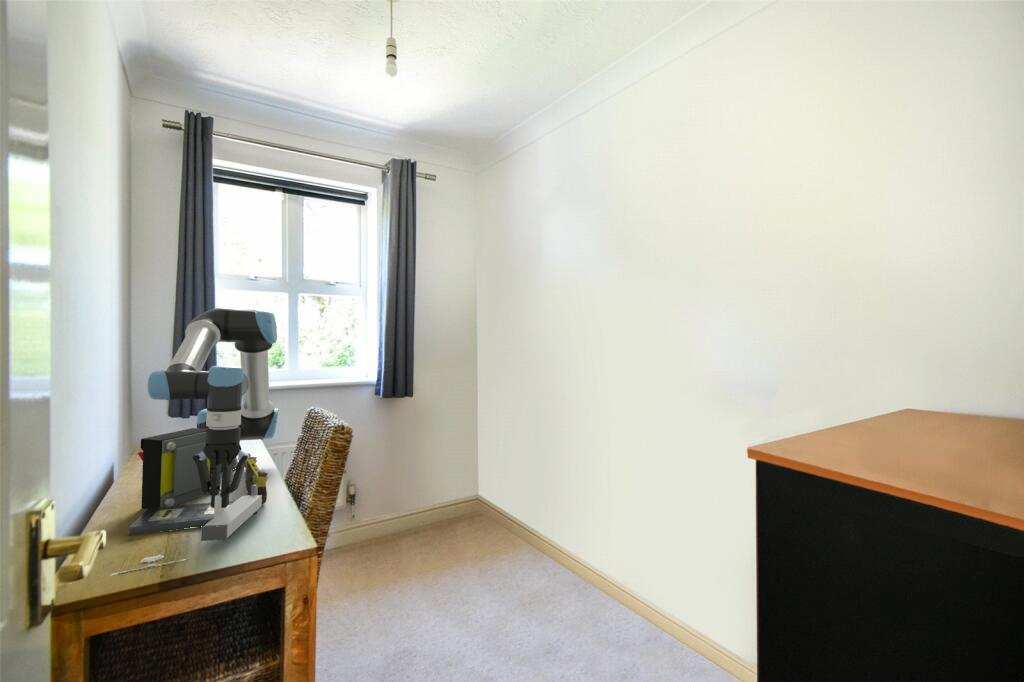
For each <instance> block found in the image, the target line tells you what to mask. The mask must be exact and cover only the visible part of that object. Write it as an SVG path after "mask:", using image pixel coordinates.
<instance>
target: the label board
mask: <svg viewBox="0 0 1024 682" xmlns="http://www.w3.org/2000/svg"><path fill="white" fill-rule="evenodd" d="M252 495H258V485H257V484H255V485H251V496H252ZM235 501H236V500H229V505H228V506H227V507H226V508H228V507H229V506H230V505H231V504H233V503H234V502H235ZM226 508H225V509H226ZM257 514H258V510H257V511H255V512H254V513H253V514H252V515H253V516H254V515H257ZM252 515H251V516H252ZM213 518H214V508H211V502H205V503H203V502H202V503H191V504H181V505H180V504H177V505H174V506H167V507H156V508H148V509H147V510H146V509H145V511H144V512H143V513H142V514H141V515H140V516H138V518H136V520H135V521H133V522H132V523H131V524H130V526H128V536H134V535H135V534H136V535H144V533H146V534H154V532H155V533H161V532H160V531H165V532H170V531H169V530H175V531H177V530H176V529H184V528H190V527H201V526H204V525H206V524H207V523H208V522H210V521H211V520H212V519H213ZM184 530H185V529H184ZM136 535H135V536H136Z"/></svg>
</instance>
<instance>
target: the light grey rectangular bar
mask: <svg viewBox="0 0 1024 682" xmlns="http://www.w3.org/2000/svg"><path fill="white" fill-rule="evenodd" d="M234 501H235V502H234V503H233V504H231V505H230V506H229V507H228V508H226V509H225V510H224V511H223V512H221V513H220V514H219V515H217V516H216V517H215V518H213V519H212V520H211V521H210V522H208V523H207V524H206V525H204V526H202V527H201V528H200V530H201V531H200V532H201V533H200V541H201V542H209V541H211V542H212V541H226V540H227V539H228V537H230V535H232V534H233V533H234V532H235V531H236V530H238V528H240V526H241V525H242V524H244V523H245V522H246V521H247V520H248V519H249V518H250V517H251V516H252V514H253V513H254V512H255V511H257V512H258V510H260V508H261V507H262V506H263V505H262V495H252V496H249V495H242V496H240V497H239V498H238V499H236V500H234ZM261 505H262V506H261Z"/></svg>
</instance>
